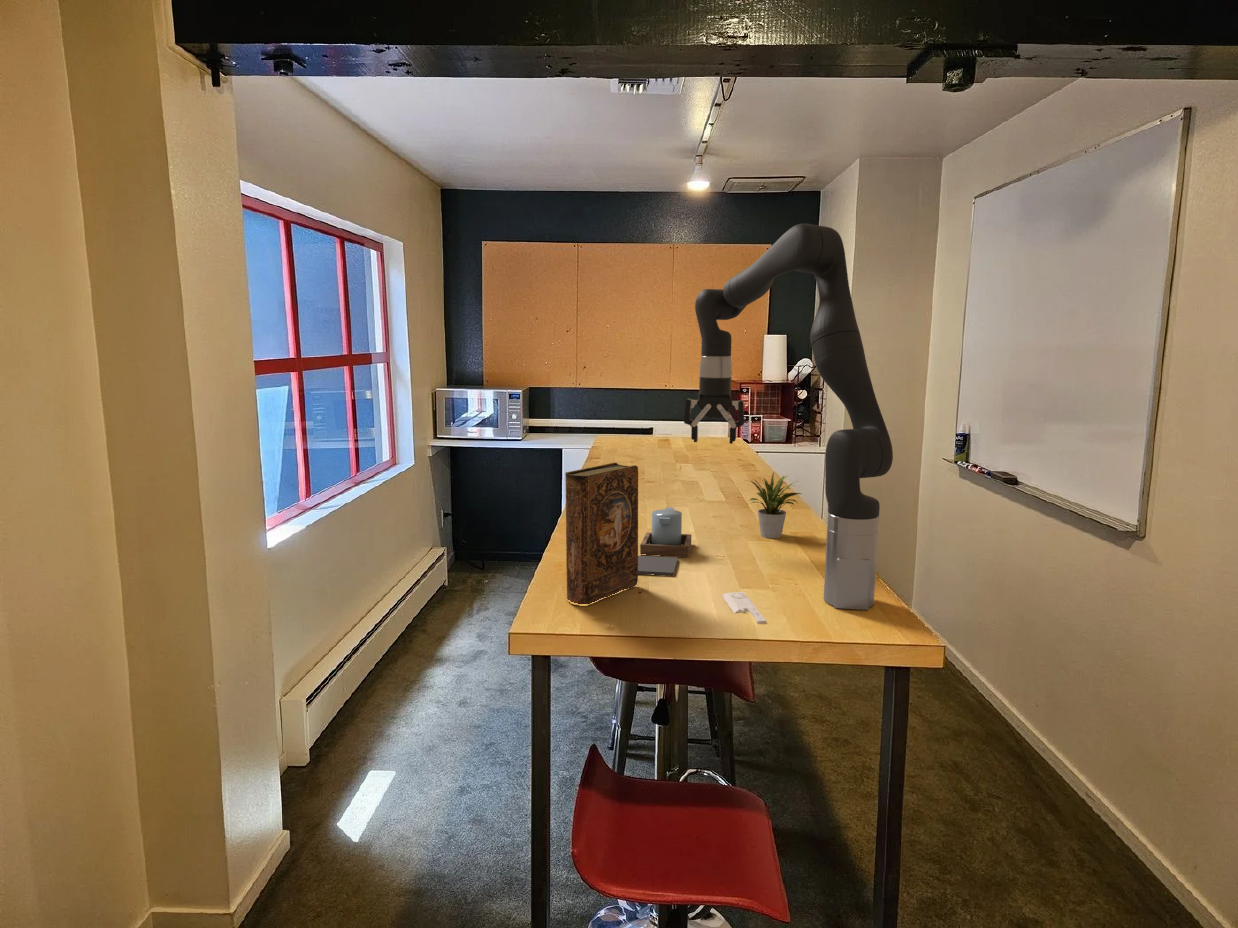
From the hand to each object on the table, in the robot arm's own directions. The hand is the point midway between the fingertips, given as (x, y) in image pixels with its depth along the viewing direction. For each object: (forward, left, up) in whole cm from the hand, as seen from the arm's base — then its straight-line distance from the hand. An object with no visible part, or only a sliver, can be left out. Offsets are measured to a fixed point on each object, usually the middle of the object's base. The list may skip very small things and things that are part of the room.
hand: (713, 442), depth 182 cm
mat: (-24, +12, -25) cm, 36 cm away
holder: (-10, +10, -25) cm, 28 cm away
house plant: (+6, -14, -25) cm, 29 cm away
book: (-42, +20, -25) cm, 53 cm away
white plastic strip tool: (-46, -8, -25) cm, 53 cm away
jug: (-8, +10, -25) cm, 28 cm away
